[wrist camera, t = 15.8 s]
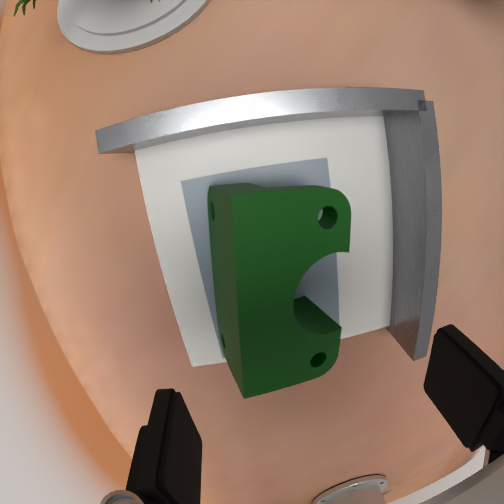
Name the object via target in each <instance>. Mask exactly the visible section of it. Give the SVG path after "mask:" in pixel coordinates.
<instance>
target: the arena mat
mask: <svg viewBox="0 0 504 504" xmlns="http://www.w3.org/2000/svg"><path fill="white" fill-rule="evenodd" d="M135 156H136V161H137V166H138V172H139V177H140V182H141V186H142V191H143V196H144V201H145V205H146V209H147V214H148V218H149V222H150V227H151V231H152V235H153V239H154V243H155V247H156V251H157V254H158V258H159V262H160V266H161V269H162V273H163V276H164V280H165V284H166V287H167V290H168V294H169V297H170V301H171V304H172V307H173V310H174V314H175V317H176V320H177V323H178V326H179V329H180V332H181V335H182V338H183V341H184V344H185V347H186V350H187V353H188V356H189V359H190V362H191V364H192V367H195V366H203V365H210V364H218V363H224V362H227V361H226V359H225V356H224V354H223V351H222V347H221V343H220V339H219V333H218V324H217V314H216V304H215V293H214V282H213V271H212V259H211V247H210V234H209V220H208V204H207V197H208V189H209V186H212V185H224V184H237V183H251V184H255V185H259V186H263V187H284V186H304V185H318V186H323V187H328V188H333V189H337V190H339V191H341V192H342V193H343V194H344V195H345V196H346V197H347V199H348V201H349V203H350V207H351V233H350V249H349V253H347V252H337V253H332V254H329V255H327V256H325V257H323V258H321V259H320V260H318V261H317V262H316V263H314V264H313V265H312V266H311V267H310V268H309V269H308V271H307V272H306V273H305V274H304V276H303V277H302V279H301V281H300V282H299V285H298V287H297V289H296V292H295V296H294V299H297V298H300V297H302V296H304V295H305V296H306V297H307V298H309V299H310V300H311V301H312V302H313V303H314V304H316V305H317V306H318V307H319V308H320V309H321V310H322V311H324V312H325V313H326V314H327V315H328V316H329V317H330V318H332V319H333V320H334V321H335V322H336V323H337V324H339V325H340V326H341V327H342V330H341V338H340V339H344V338H348V337H351V336H355V335H359V334H363V333H366V332H370V331H373V330H377V329H380V328H384V327H387V326H390V315H391V301H392V279H393V217H392V195H391V180H390V168H389V158H388V148H387V140H386V132H385V125H384V118H383V116H364V117H341V118H325V119H312V120H301V121H291V122H282V123H274V124H266V125H259V126H252V127H245V128H238V129H232V130H226V131H221V132H215V133H210V134H204V135H199V136H194V137H190V138H185V139H180V140H176V141H171V142H167V143H163V144H159V145H155V146H151V147H147V148H143V149H139V150H135ZM322 212H323V210H321V211H320V213H319V215H318V220H319V219H320V218H321V216H322Z"/></svg>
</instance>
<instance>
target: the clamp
mask: <svg viewBox="0 0 504 504" xmlns="http://www.w3.org/2000/svg"><path fill="white" fill-rule="evenodd" d="M207 204H208V220H209V234H210V247H211V259H212V271H213V282H214V293H215V304H216V314H217V324H218V333H219V339H220V343H221V347H222V351H223V354H224V356H225V359H226V361H227V363H228V365H229V368H230V370H231V372H232V374H233V376H234V379H235V381H236V383H237V385H238V387H239V389H240V391H241V394H242V396H243V398H244V399H245V398H249V397H253V396H257V395H261V394H264V393H268V392H272V391H275V390H279V389H282V388H286V387H289V386H292V385H296V384H299V383H302V382H305V381H308V380H311V379H314V378H317V377H320V376H321V375H323V374H325V373H326V372H327V371H328V370H330V368H331V367H332V366H333V365H334V363H335V362H336V360H337V357H338V352H339V345H340V338H341V330H342V327H341V326H340V325H339V324H337V323H336V322H335V321H334V320H333V319H332V318H330V317H329V316H328V315H327V314H326V313H325V312H324V311H322V310H321V309H320V308H319V307H318V306H317V305H316V304H314V303H313V302H312V301H311V300H310V299H309V298H307V297H306V296H305V295H304V296H302V297H300V298H297V299H294V296H295V292H296V289H297V287H298V285H299V282H300V281H301V279H302V277H303V276H304V274H305V273H306V272H307V271H308V269H309V268H310V267H311V266H312V265H313V264H314V263H316V262H317V261H318V260H320V259H321V258H323V257H325V256H327V255H329V254H332V253H337V252H347V253H349V249H350V233H351V207H350V203H349V201H348V199H347V197H346V196H345V195H344V194H343V193H342V192H341V191H339V190H337V189H333V188H328V187H323V186H318V185H304V186H284V187H263V186H259V185H255V184H251V183H237V184H224V185H212V186H209V189H208V197H207ZM321 210H323V212H322V216H321V218H320V219H319V220H318V215H319V213H320V211H321Z"/></svg>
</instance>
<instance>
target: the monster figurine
mask: <svg viewBox="0 0 504 504" xmlns="http://www.w3.org/2000/svg"><path fill="white" fill-rule="evenodd" d="M29 1H30V0H20V1H19V2H18V3H17V4H16V8H15V12H14V16H15V15H16V12H17V10H18V7H19V5H20V4H21V3H23V2H24V4H23V6H22V9H23V14H24V15H25V7H26V4H27V3H28V2H29ZM35 1H36V0H33V8H34V9H35ZM209 2H210V0H59V2H58V8H57V20H58V24H59V27H60V29H61V31H62V33H63V35H64V36H65V37H66V38H67V39H68V40H69V41H70V42H72V43H73V44H75V45H77V46H78V47H80V48H81V49H84V50H86V51H89V52H93V53H99V54H118V53H127V52H131V51H135V50H139V49H142V48H145V47H148V46H151V45H153V44H156V43H158V42H160V41H162V40H164V39H166V38H168V37H170V36H171V35H173V34H175V33H176V32H178V31H180V30H181V29H182V28H184V27H185V26H186V25H188V24H189V23H190V22H192V21H193V20H194V19H195V18H196V17H197V16H198V15H199V14H200V13H201V12H202V11H203V9H204V8H205V7H206V6H207V5H208V3H209Z"/></svg>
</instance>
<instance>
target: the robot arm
mask: <svg viewBox="0 0 504 504" xmlns="http://www.w3.org/2000/svg"><path fill="white" fill-rule="evenodd" d="M424 390H425V392H426V394H427V395H428V397H429V398H430V399H431V401H432V402H433V403H434V405H435V406H436V407H437V409H438V410H439V411H440V413H441V414H442V416H443V417H444V418H445V420H446V421H447V422H448V424H449V425H450V427H451V428H452V429H453V431H454V432H455V434H456V435H457V437H458V438H459V439H460V441H461V442H462V444H463V445H464V446H465V447H466V448H468V447H469V449H470V450H471V452H473V451H475V450H476V449H478V448H480V447H481V446H482V445H484V446H485V447H486V451H485V458H484V464H483V469H481V470H479V471H478V472H476V473H475V474H473V475H472V476H470V477H468V478H467V479H465V480H463V481H462V482H460V483H458V484H457V485H455V486H453V487H451V488H450V489H448V490H446V491H444V492H442V493H440V494H439V495H437V496H435V497H433V498H431V499H429V500H427V501H425V502H422V503H420V504H504V370H502V369H501V368H500V367H499V366H498V365H497V364H496V363H495V362H494V361H493V360H492V359H491V358H490V357H489V356H488V355H486V354H485V353H484V352H483V351H482V350H481V349H480V348H479V347H478V346H477V345H475V344H474V343H473V342H472V341H471V340H470V339H469V338H468V337H466V336H465V335H464V334H463V333H462V332H461V331H460V330H458V329H457V328H456V327H455V326H454V325H452V324H450V325H447V326H444V327H442V328H439V329H438V330H437V333H436V334H435V335H434V339H433V344H432V350H431V355H430V359H429V364H428V368H427V373H426V377H425V381H424ZM201 464H202V440H201V437H200V435H199V433H198V431H197V428H196V426H195V424H194V422H193V420H192V418H191V416H190V413H189V411H188V409H187V407H186V404H185V402H184V400H183V398H182V395H181V393H180V392H175V390H174V389H158V390H157V391H156V393H155V397H154V401H153V405H152V409H151V413H150V417H149V421H148V425H146V426H142V427H141V428H140V431H139V434H138V438H137V442H136V446H135V451H134V455H133V459H132V463H131V468H130V473H129V477H128V481H127V486H126V490H116V491H113V492H111V493H109V494H108V495H106V496H105V497H104V498H103V500H102V501H101V504H200V492H201ZM387 485H388V481H387V479H386V477H385V476H382V475H371V476H365V477H361V478H357V479H354V480H351V481H348V482H345V483H343V484H340V485H338V486H335V487H333V488H331V489H329V490H327V491H325V492H324V493H322V494H321V495H319V496H318V497H317V498H316V499H315V500H314V501H313V503H312V504H386V502H385V499H384V497H383V494H382V492H383V491H384V490H385V489H386V487H387Z"/></svg>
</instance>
